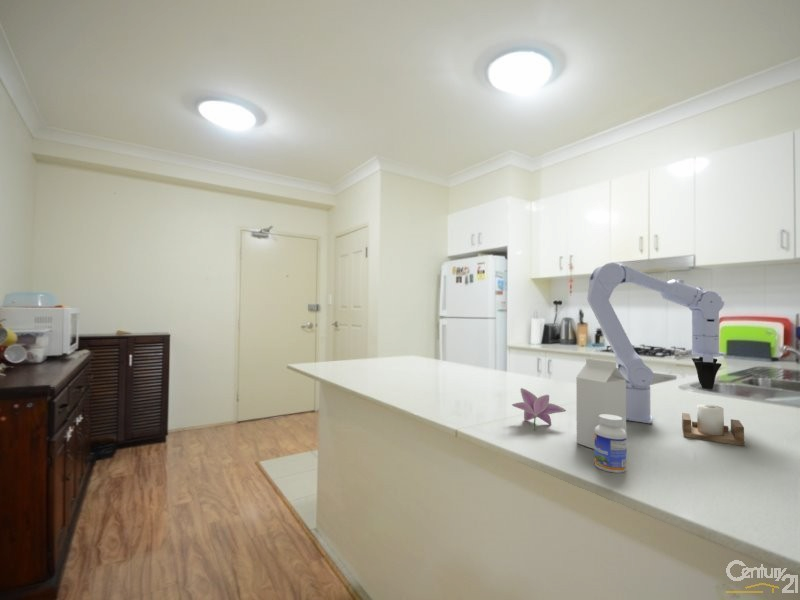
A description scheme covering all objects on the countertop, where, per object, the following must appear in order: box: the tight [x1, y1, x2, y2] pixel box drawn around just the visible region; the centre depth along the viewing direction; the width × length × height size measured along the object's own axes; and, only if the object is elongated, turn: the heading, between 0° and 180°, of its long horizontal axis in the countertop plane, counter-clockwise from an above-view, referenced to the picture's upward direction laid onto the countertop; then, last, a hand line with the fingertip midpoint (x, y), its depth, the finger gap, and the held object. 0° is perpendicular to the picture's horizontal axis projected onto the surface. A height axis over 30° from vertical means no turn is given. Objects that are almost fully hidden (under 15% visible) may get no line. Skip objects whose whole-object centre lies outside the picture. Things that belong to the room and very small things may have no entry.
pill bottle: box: [593, 414, 627, 474], centre depth 74 cm, size 5×5×10 cm
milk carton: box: [576, 358, 627, 450], centre depth 86 cm, size 7×7×19 cm
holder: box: [681, 412, 746, 447], centre depth 93 cm, size 11×8×4 cm
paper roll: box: [696, 404, 725, 435], centre depth 93 cm, size 5×5×6 cm
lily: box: [511, 387, 567, 432], centre depth 99 cm, size 12×12×10 cm
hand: (705, 386), depth 103 cm, fingers open, 7 cm apart
